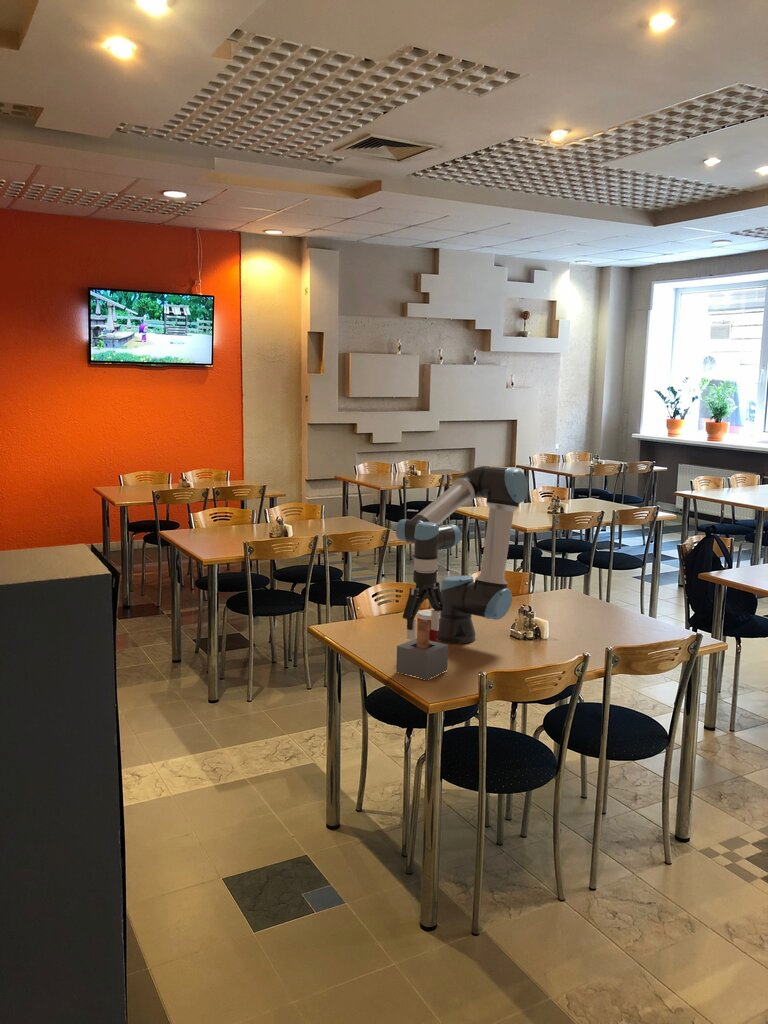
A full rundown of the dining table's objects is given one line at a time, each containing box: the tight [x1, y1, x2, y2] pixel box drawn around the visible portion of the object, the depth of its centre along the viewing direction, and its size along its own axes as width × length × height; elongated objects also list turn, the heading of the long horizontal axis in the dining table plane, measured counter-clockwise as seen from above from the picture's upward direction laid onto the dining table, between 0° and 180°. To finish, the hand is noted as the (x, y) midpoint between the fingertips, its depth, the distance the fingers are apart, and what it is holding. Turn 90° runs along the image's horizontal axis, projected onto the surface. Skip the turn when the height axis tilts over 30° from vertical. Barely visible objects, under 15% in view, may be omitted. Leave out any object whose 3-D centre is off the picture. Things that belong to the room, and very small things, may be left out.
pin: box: [416, 620, 430, 650], centre depth 278 cm, size 4×4×14 cm
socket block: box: [395, 637, 449, 681], centre depth 279 cm, size 12×12×9 cm
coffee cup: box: [415, 609, 440, 642], centre depth 297 cm, size 8×8×15 cm
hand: (423, 634), depth 278 cm, fingers open, 13 cm apart
